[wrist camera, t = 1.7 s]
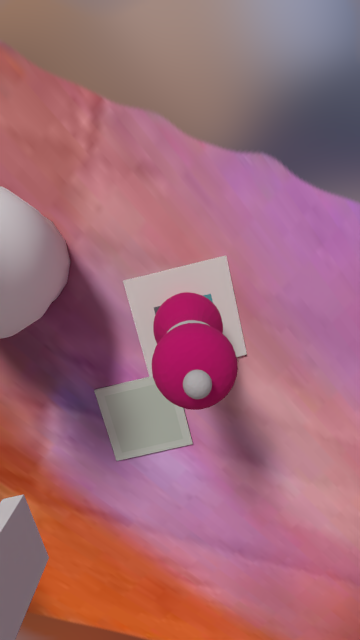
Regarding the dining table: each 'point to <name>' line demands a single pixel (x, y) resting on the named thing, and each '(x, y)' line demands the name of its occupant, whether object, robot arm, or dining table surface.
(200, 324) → the pepper mill
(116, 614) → the dining table surface
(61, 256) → the vase
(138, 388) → the coaster
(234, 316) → the tile
